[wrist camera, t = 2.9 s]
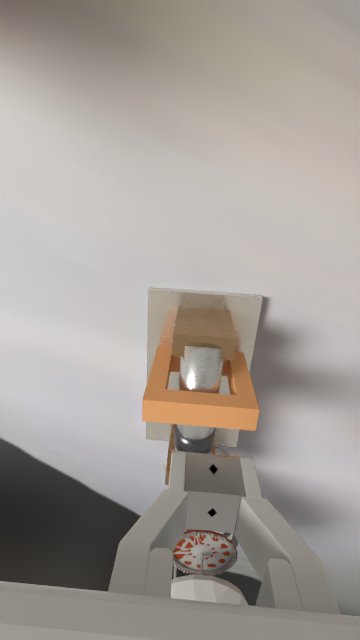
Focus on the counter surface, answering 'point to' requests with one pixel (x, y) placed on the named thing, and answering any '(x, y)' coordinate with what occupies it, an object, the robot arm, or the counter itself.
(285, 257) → the counter surface
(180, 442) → the pipe rig
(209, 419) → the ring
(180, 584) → the french press
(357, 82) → the counter surface
